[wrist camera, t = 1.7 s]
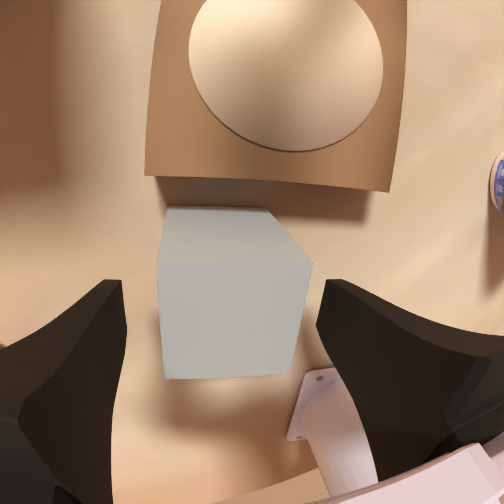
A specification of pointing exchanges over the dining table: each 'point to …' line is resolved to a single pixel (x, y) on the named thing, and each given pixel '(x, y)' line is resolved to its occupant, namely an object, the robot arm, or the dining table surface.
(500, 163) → the pill bottle
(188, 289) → the block
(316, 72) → the plinth
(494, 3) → the dining table surface
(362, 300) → the robot arm
